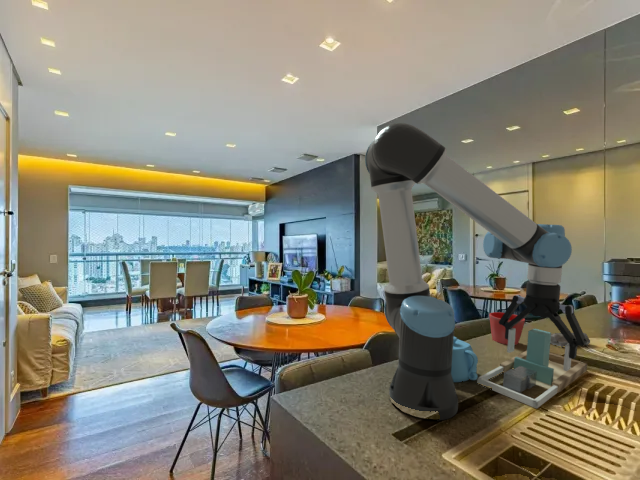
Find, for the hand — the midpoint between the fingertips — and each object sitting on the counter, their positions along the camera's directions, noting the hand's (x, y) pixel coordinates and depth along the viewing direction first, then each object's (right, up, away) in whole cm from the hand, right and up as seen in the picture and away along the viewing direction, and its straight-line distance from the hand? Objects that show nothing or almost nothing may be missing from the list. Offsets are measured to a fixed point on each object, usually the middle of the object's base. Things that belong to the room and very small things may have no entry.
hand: (537, 360), depth 92 cm
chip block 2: (-6, -5, -5) cm, 9 cm away
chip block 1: (-10, -5, -7) cm, 13 cm away
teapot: (-24, -5, +2) cm, 24 cm away
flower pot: (+6, -4, +27) cm, 28 cm away
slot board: (+4, -5, +3) cm, 7 cm away
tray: (-10, -5, -7) cm, 13 cm away
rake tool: (0, -4, 0) cm, 4 cm away
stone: (+29, -5, +30) cm, 42 cm away
